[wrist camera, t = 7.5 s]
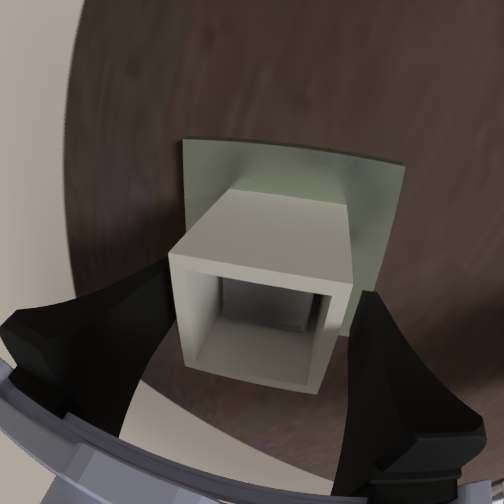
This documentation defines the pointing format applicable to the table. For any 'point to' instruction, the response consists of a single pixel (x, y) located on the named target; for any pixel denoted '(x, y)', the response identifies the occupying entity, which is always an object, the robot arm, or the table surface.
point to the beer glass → (502, 486)
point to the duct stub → (300, 186)
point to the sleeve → (268, 273)
